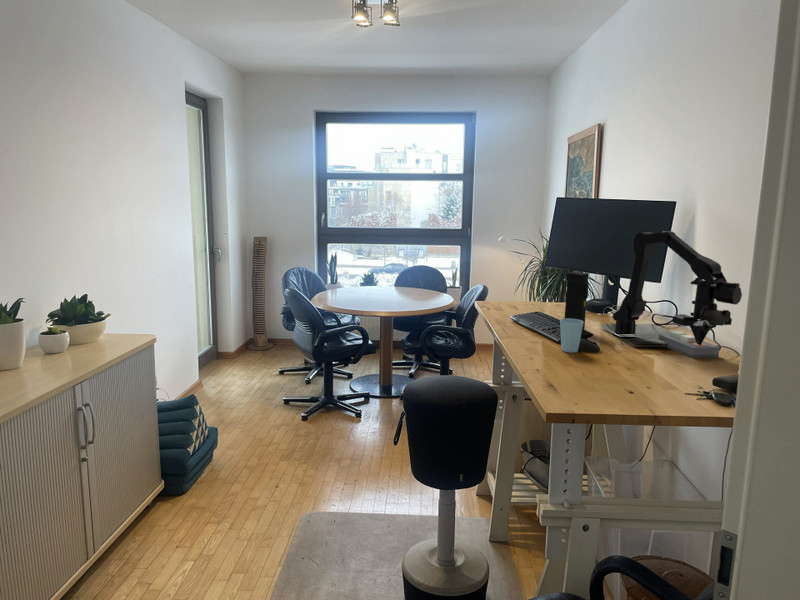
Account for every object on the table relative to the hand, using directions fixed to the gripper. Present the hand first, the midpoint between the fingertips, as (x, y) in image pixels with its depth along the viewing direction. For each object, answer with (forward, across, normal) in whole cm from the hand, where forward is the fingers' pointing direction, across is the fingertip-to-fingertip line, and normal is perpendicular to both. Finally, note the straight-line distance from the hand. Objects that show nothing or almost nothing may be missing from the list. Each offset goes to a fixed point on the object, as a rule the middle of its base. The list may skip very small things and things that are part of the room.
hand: (698, 344), depth 196 cm
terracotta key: (+2, 0, 0) cm, 3 cm away
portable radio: (+4, -25, +38) cm, 46 cm away
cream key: (+1, 0, +5) cm, 6 cm away
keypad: (+4, 0, +5) cm, 6 cm away
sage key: (+1, 0, +11) cm, 11 cm away
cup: (+4, -42, +10) cm, 43 cm away
